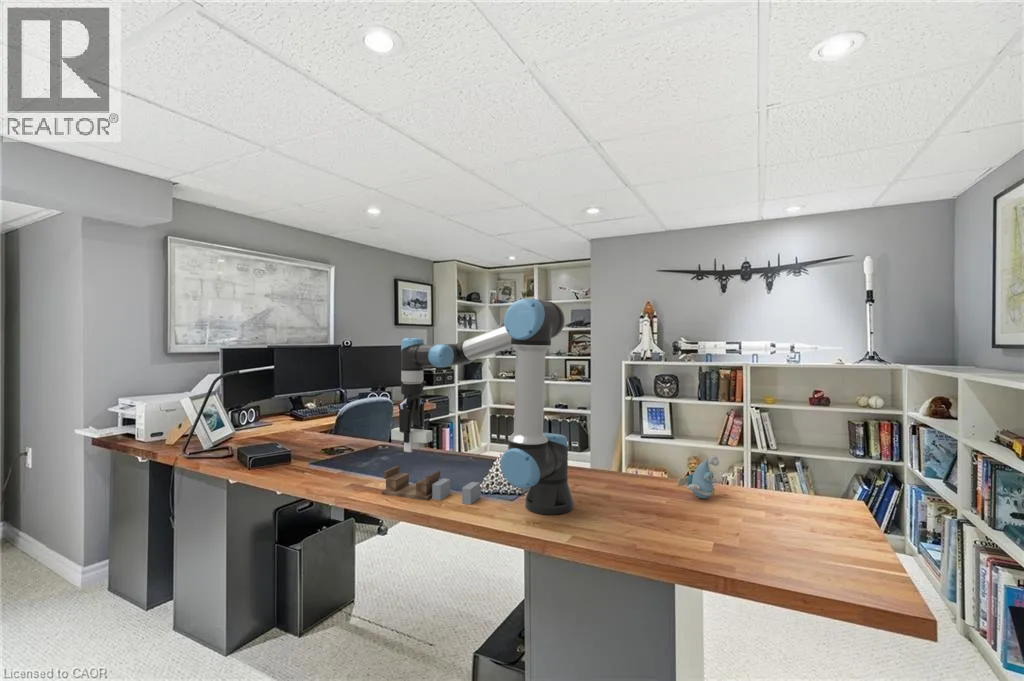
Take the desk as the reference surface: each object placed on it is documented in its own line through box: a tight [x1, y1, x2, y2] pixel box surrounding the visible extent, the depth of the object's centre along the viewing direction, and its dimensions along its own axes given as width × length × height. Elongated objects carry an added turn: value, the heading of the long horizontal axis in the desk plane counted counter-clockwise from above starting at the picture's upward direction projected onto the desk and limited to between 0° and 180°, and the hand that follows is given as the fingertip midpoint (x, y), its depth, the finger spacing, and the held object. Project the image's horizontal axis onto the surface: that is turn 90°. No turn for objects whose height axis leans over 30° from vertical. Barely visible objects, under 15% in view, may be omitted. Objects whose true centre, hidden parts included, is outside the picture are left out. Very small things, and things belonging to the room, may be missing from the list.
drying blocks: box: [431, 478, 481, 506], centre depth 156 cm, size 14×7×5 cm, turn 69°
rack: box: [381, 465, 441, 501], centre depth 162 cm, size 18×10×7 cm, turn 69°
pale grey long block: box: [390, 426, 433, 444], centre depth 162 cm, size 14×4×4 cm, turn 69°
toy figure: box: [676, 455, 720, 499], centre depth 156 cm, size 17×10×15 cm, turn 129°
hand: (411, 449), depth 162 cm, fingers closed on pale grey long block, 4 cm apart
